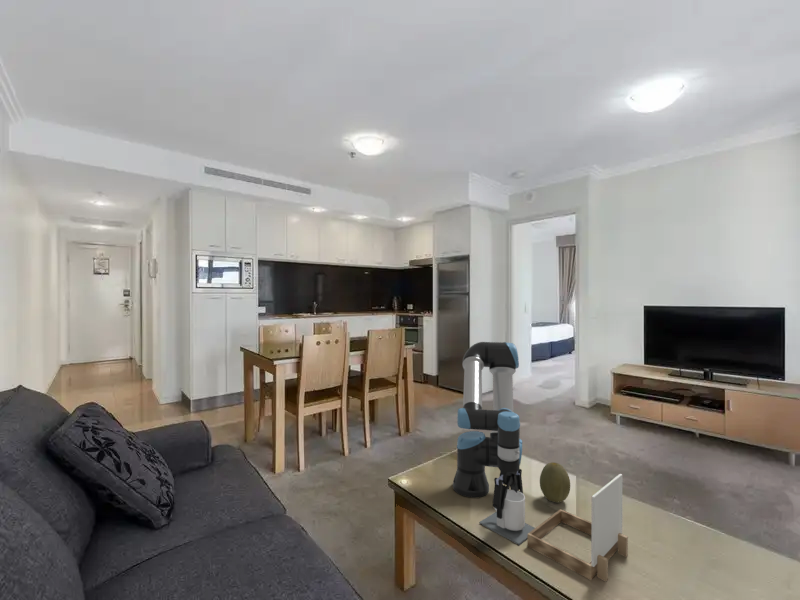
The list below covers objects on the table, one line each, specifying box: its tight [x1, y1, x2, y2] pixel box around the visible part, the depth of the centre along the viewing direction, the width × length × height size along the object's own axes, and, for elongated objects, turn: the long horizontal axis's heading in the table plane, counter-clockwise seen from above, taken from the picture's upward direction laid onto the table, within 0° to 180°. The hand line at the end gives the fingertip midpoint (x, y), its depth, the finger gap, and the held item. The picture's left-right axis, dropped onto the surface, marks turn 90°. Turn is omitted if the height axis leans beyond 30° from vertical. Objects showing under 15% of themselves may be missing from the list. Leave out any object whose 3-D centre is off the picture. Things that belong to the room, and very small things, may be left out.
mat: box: [478, 510, 536, 546], centre depth 135 cm, size 16×12×1 cm
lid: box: [590, 473, 629, 582], centre depth 116 cm, size 3×22×24 cm, turn 131°
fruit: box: [539, 461, 571, 503], centre depth 153 cm, size 11×11×15 cm
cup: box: [494, 488, 526, 531], centre depth 135 cm, size 8×12×10 cm
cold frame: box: [526, 509, 618, 581], centre depth 124 cm, size 20×23×4 cm
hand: (508, 521), depth 135 cm, fingers closed on cup, 8 cm apart
